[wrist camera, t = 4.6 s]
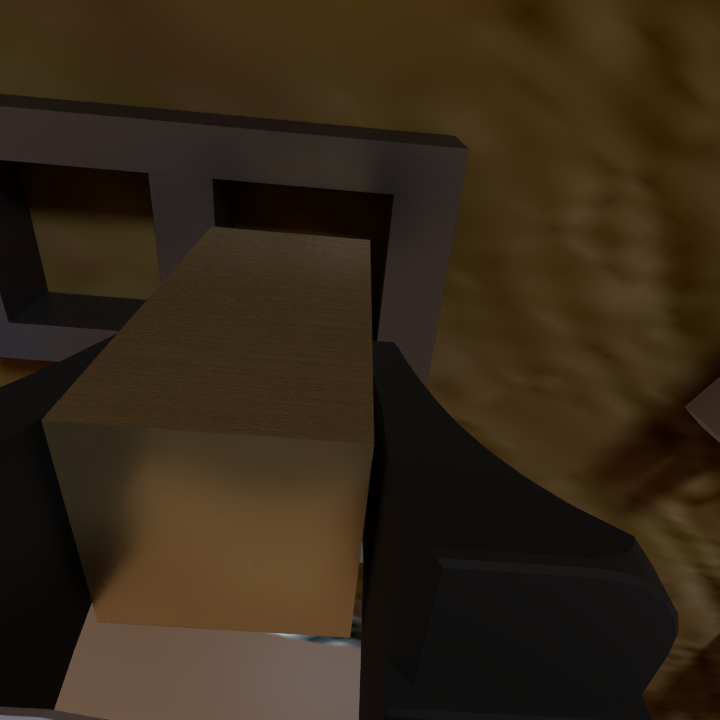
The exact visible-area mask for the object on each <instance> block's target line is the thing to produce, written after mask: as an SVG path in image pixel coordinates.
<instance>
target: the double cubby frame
mask: <svg viewBox="0 0 720 720" xmlns="http://www.w3.org/2000/svg"><path fill="white" fill-rule="evenodd" d="M468 150H469V149H468V148H467V147H466V146H465V145H464V144H463V143H462V142H461V141H460V140H459V139H458V138H457V137H456V136H449V135H439V134H428V133H417V132H406V131H395V130H384V129H374V128H363V127H352V126H341V125H330V124H319V123H309V122H298V121H287V120H276V119H265V118H255V117H244V116H233V115H222V114H211V113H200V112H190V111H179V110H168V109H157V108H146V107H135V106H125V105H114V104H103V103H92V102H81V101H70V100H60V99H49V98H38V97H27V96H16V95H6V94H0V357H3V358H16V359H29V360H42V361H55V362H59V361H62V360H64V359H66V358H68V357H70V356H72V355H74V354H76V353H78V352H80V351H82V350H84V349H86V348H88V347H90V346H92V345H94V344H96V343H98V342H100V341H102V340H104V339H107V338H109V337H111V336H113V335H115V334H117V333H118V332H119V331H120V330H121V329H122V328H123V326H124V325H125V324H126V323H127V322H128V321H129V320H130V319H131V317H132V316H133V315H134V314H135V313H136V312H137V311H138V309H139V308H140V307H141V306H142V305H143V304H144V303H145V301H146V300H138V299H126V298H113V297H101V296H89V295H76V294H64V293H52V292H48V290H47V286H46V281H45V277H44V273H43V269H42V265H41V260H40V256H39V252H38V248H37V243H36V239H35V235H34V231H33V227H32V222H31V218H30V214H29V210H28V205H27V201H26V197H25V193H24V189H23V184H22V180H21V176H20V172H19V167H18V163H17V161H18V162H30V163H41V164H52V165H64V166H75V167H86V168H97V169H109V170H120V171H131V172H143V173H148V175H149V184H150V192H151V201H152V209H153V218H154V226H155V235H156V244H157V252H158V261H159V269H160V278H161V283H162V282H163V281H164V280H165V279H166V278H167V276H168V275H169V274H170V273H171V272H172V271H173V270H174V268H175V267H176V266H177V265H178V264H179V263H180V262H181V260H182V259H183V258H184V257H185V256H186V255H187V254H188V253H189V251H190V250H191V249H192V248H193V247H194V246H195V245H196V243H197V242H198V241H199V240H200V239H201V238H202V237H203V235H204V234H205V233H206V232H207V231H208V230H209V229H210V227H211V226H212V227H223V228H234V208H233V183H232V180H233V181H244V182H256V183H267V184H278V185H290V186H301V187H312V188H324V189H335V190H346V191H358V192H369V193H380V194H389V197H388V206H387V215H386V225H385V234H384V243H383V252H382V261H381V270H380V279H379V289H378V298H377V307H376V316H375V319H374V318H372V341H385V342H394V343H395V344H396V345H397V346H398V348H399V349H400V351H401V352H402V354H403V356H404V357H405V359H406V360H407V362H408V363H409V365H410V366H411V368H412V369H413V370H414V372H415V373H416V375H417V376H418V377H419V379H420V380H421V382H422V383H423V384H424V385H425V387H427V381H428V375H429V370H430V364H431V358H432V353H433V347H434V342H435V336H436V330H437V325H438V319H439V313H440V308H441V302H442V296H443V291H444V285H445V280H446V274H447V268H448V263H449V257H450V251H451V246H452V240H453V235H454V229H455V223H456V218H457V212H458V206H459V201H460V195H461V190H462V184H463V178H464V173H465V167H466V161H467V156H468Z"/></svg>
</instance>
